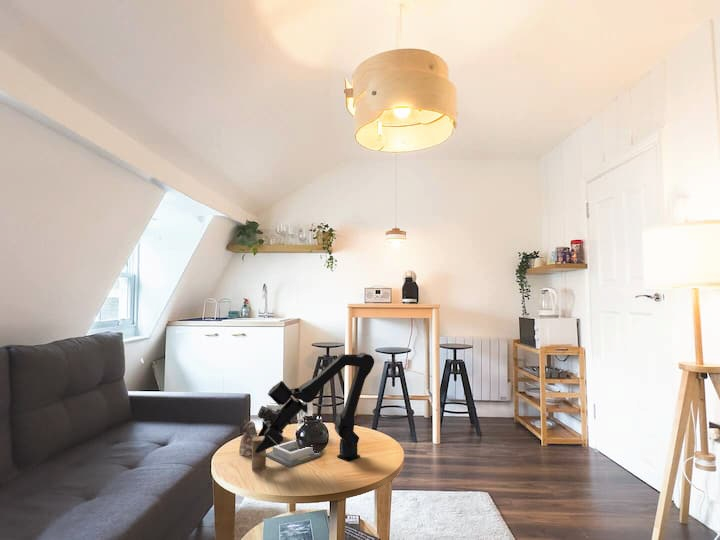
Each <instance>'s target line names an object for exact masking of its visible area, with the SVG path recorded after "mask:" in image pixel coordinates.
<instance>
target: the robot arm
mask: <svg viewBox="0 0 720 540" xmlns="http://www.w3.org/2000/svg"><path fill="white" fill-rule="evenodd" d="M346 366H350V367H351V366H352V367H354V368H353V369H354V374H353V379H352V380H351V385H350V388H349V392H348V395H347V398H346V400H345V404H344V408H343V410H342V411H341V413H340V414H339V413H336V416H335V421H334V422H333V424H334V431H335V433H336V434H337V435H338V436H339V438H340V440H339V454H338V455H336V457H337V458H339V459H341V460H344V461H347V462H350V461H353V460H356V459H359V458H361V454H358V443H359V440H360V437H359V435H357V434H356V432H355V431H354V430H355V415H356V411H357V407H358V404H359V402H360V401H359V400H360V397H361V394H362V391H363V388H364V384H365V380H366V379H367V377H368V376H369V375H370V373H371V371H372V370H373V367H374V366H375V359H374V357H373V356H372V355H371V354H369V353H366V352H360V353H358V354H354V353H353V354H349V353H348V354H345V353H340V354H339V355H338V357H337V358H335V359H334V360H333V361H332V362H331V363H329V364H328V365H327V366H326V367H325V368H324V369H323V370H322V371H321V372H320V373H319V374H318V375H317V376H315V377H313V378H312V379H309V380H308V381H306V382H304V383H303V384H301V385H300V386H298V387H294V388H291V389H290V388H289V387H288V386H287V385H286V383H285V382H284V381H283V380H280V381H279V382H278V383H276V384H275V385H273V386H272V388H270V389H269V390H268V393H267V396H268V397H270V398H271V400H273V402H276V403H277V404H278V405H281V404H282V405H283V407H282V408H281V409H277V410H276V411H273V410H271V409H269V408H266V407H267V406H263V405H261V407H260V408H259V410H258V413H257V417H258V418H260V419H262V421H261V422H262V424H261V426H262V427H261V429H260V431H259V432H258V434H257V437H258V436H264V439H263V440H262V441H261V443H260V444H259V446H258V447H257V449H256V450H255V452H256V453H259V452H261V451H263V450H266V451H267V449H270V448H273V446H277V445H280V444H283V443H284V442H283V441H284V436H283V432H284V429H285V428H286V427H287V426H288V425H290V426H291V424H292V420H294V419H295V417H297V414H298V413H299V412H300V411H301V410H303V411H304V412H305V413H307V404H303V403H302V402H301V401H300V400H302V401H303V402H305V403H310V402H311V401H312V402H313V401H314V399H316V397H317V396H318V395H319V394H320V391H321V390H322V388H323V387H324V386H325V385H326V384H327V383H328V382H330V380H331V379H333V378H334V377H335V376H336V375H337V374H338V373H339V372H340V371H341V370H343V369H344V368H345V367H346ZM299 399H300V400H299Z"/></svg>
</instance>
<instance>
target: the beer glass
mask: <svg viewBox="0 0 720 540" xmlns="http://www.w3.org/2000/svg"><path fill="white" fill-rule="evenodd" d="M299 400H300V399H299ZM300 401H301V402H302V403H303V404H307V413H305V412H304V411H303V410H301V411H300V412H299V413H298V414H297V415H296V417H297V424H298V426H299V425H300V424H301V423H302V420H303V417H305V416H312V417H313V411H314V408H313V407H314V406H313V405H314V404H313V401H311V402H310V403H305V402H303V401H302V400H300Z"/></svg>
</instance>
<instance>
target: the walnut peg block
mask: <svg viewBox="0 0 720 540" xmlns="http://www.w3.org/2000/svg"><path fill="white" fill-rule="evenodd" d="M257 436H258V435H257ZM263 439H264V436H258V437H252V456H251V471H252V470H254V471H262V470H266V462H267V459H266V458H267V457H266V453H267V449H266V450H263V451H261V452H259V453H256V452H255V450H256V449H257V447H258V446H259V444H260V443H261V441H262V440H263Z"/></svg>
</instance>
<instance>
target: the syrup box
mask: <svg viewBox="0 0 720 540" xmlns="http://www.w3.org/2000/svg"><path fill="white" fill-rule="evenodd" d="M283 406H284V405H282V404H281V405H278V404H277V403H276V402H275V401H270V402H269V403H267V404H266V406H265V407H266V408H269V409H271V410H273V411H276V410H277V409H281V408H282V407H283Z"/></svg>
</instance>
